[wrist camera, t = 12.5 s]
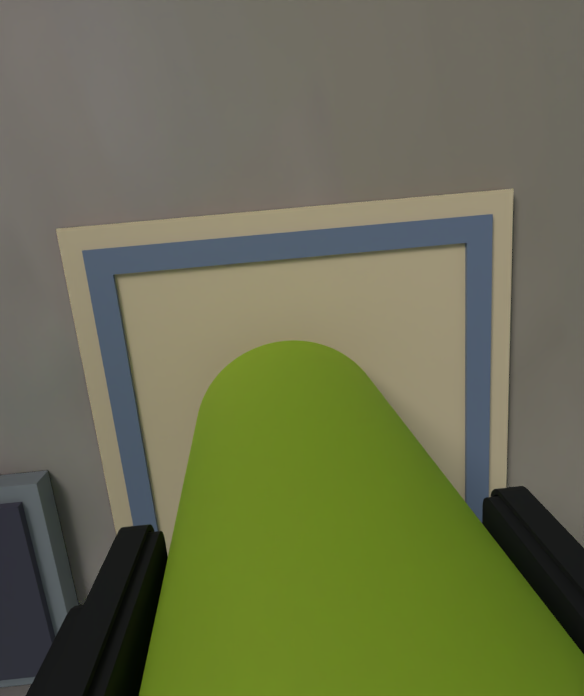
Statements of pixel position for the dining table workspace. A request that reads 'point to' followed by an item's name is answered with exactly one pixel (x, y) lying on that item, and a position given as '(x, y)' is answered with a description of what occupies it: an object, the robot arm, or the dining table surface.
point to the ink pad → (30, 575)
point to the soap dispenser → (336, 554)
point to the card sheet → (295, 326)
